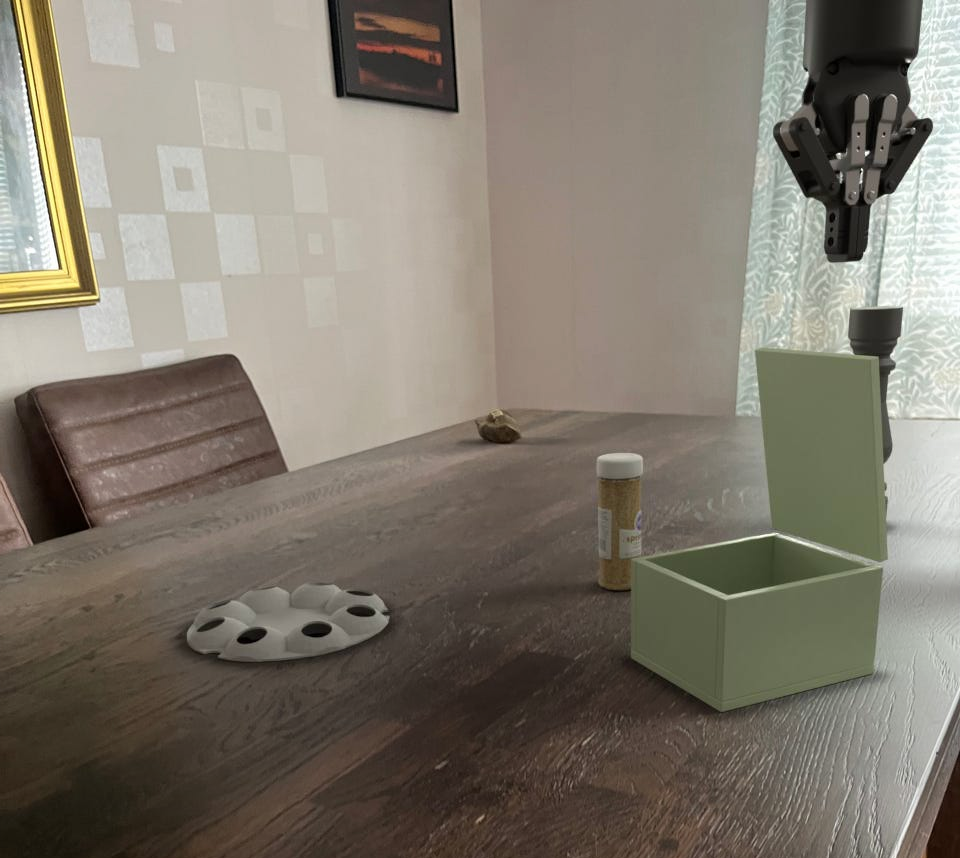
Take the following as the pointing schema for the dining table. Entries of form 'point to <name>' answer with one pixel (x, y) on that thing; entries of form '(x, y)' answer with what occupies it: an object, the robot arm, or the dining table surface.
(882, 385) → the candle holder
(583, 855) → the dining table surface
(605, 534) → the sprinkles bottle
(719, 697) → the chest
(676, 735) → the dining table surface
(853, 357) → the lid
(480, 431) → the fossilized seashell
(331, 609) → the round palette
